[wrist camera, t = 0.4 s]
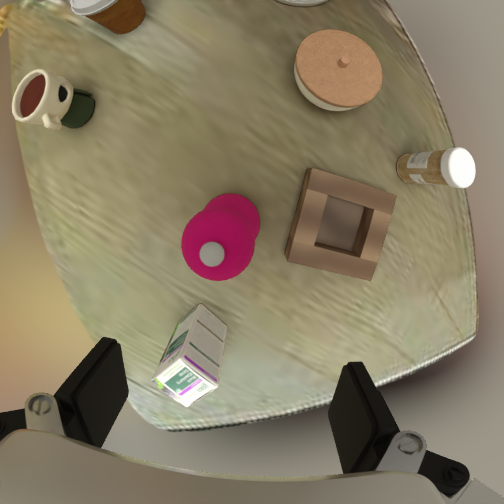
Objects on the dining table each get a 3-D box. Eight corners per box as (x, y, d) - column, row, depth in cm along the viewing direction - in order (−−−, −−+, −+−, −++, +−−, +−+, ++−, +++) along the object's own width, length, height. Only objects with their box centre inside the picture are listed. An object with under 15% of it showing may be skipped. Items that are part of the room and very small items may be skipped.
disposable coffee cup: (93, 37, 31) (55, 10, 20) (124, -4, 29) (95, -38, 18) (133, 47, 32) (98, 14, 21) (166, 3, 30) (143, -38, 19)
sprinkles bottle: (403, 188, 37) (457, 195, 24) (390, 160, 36) (443, 155, 23) (424, 176, 37) (481, 179, 24) (412, 148, 36) (468, 141, 23)
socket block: (306, 169, 37) (312, 167, 33) (384, 193, 38) (396, 195, 34) (284, 253, 40) (287, 261, 36) (361, 272, 40) (370, 281, 37)
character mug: (109, 121, 35) (58, 105, 23) (75, 149, 36) (21, 144, 24) (86, 73, 33) (39, 49, 21) (56, 101, 34) (5, 86, 22)
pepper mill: (270, 210, 39) (284, 241, 19) (241, 254, 40) (228, 323, 21) (224, 182, 38) (191, 183, 18) (197, 227, 39) (143, 271, 20)
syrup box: (200, 301, 42) (177, 356, 28) (229, 327, 43) (218, 388, 29) (177, 323, 43) (148, 380, 29) (204, 347, 44) (187, 410, 30)
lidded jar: (367, 119, 35) (396, 104, 26) (294, 120, 36) (306, 103, 26) (354, 53, 33) (377, 27, 23) (283, 53, 33) (290, 21, 24)
